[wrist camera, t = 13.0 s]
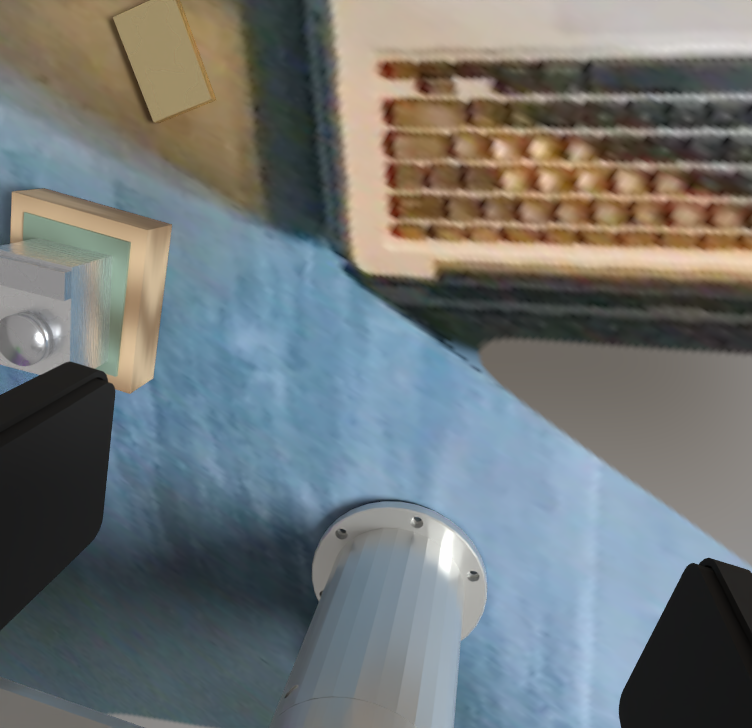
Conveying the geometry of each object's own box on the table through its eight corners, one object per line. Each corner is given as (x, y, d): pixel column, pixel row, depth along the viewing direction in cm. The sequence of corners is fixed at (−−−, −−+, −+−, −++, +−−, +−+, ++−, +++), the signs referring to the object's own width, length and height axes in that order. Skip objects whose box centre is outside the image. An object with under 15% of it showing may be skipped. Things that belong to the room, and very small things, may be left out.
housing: (37, 237, 40) (-24, 250, 35) (112, 255, 39) (60, 270, 35) (37, 343, 42) (-20, 367, 38) (107, 361, 42) (58, 388, 37)
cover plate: (219, 100, 39) (211, 99, 38) (163, 123, 40) (153, 122, 39) (181, -6, 37) (171, -10, 36) (124, 21, 38) (112, 17, 37)
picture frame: (152, 378, 45) (128, 394, 42) (36, 342, 46) (4, 356, 43) (171, 224, 41) (146, 230, 38) (44, 188, 42) (9, 191, 39)
